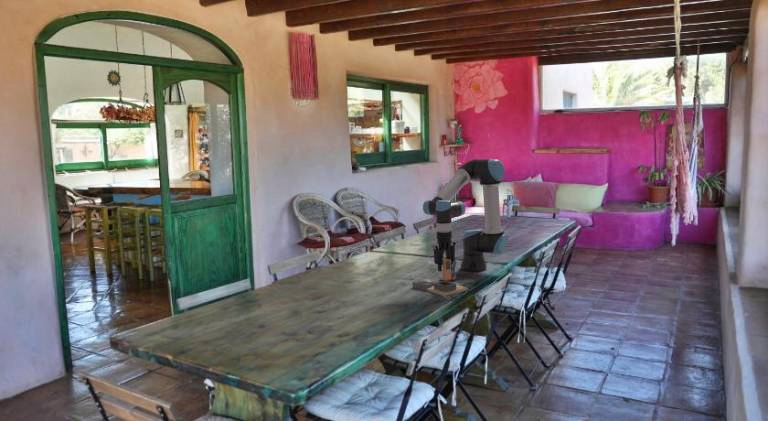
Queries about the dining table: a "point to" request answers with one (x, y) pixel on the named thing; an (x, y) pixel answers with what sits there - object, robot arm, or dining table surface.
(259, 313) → the dining table surface
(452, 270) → the mug
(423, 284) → the grey domed square block
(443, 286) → the board
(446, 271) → the plug
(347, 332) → the dining table surface
